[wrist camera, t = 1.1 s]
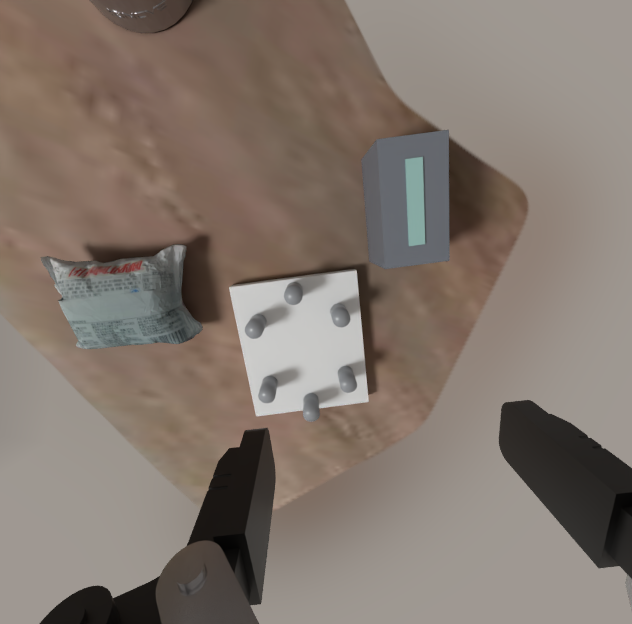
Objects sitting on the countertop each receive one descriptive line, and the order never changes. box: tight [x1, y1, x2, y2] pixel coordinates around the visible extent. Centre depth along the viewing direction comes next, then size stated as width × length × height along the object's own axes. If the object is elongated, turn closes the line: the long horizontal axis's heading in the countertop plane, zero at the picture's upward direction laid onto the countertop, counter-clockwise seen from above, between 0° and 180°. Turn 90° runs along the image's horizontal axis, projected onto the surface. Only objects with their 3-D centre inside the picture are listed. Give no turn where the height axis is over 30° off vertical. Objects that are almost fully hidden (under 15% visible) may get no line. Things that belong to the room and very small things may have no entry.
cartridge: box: [362, 130, 449, 269], centre depth 24 cm, size 9×5×6 cm, turn 7°
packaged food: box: [41, 244, 203, 349], centre depth 26 cm, size 9×12×5 cm
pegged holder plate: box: [229, 269, 369, 422], centre depth 29 cm, size 14×12×4 cm
